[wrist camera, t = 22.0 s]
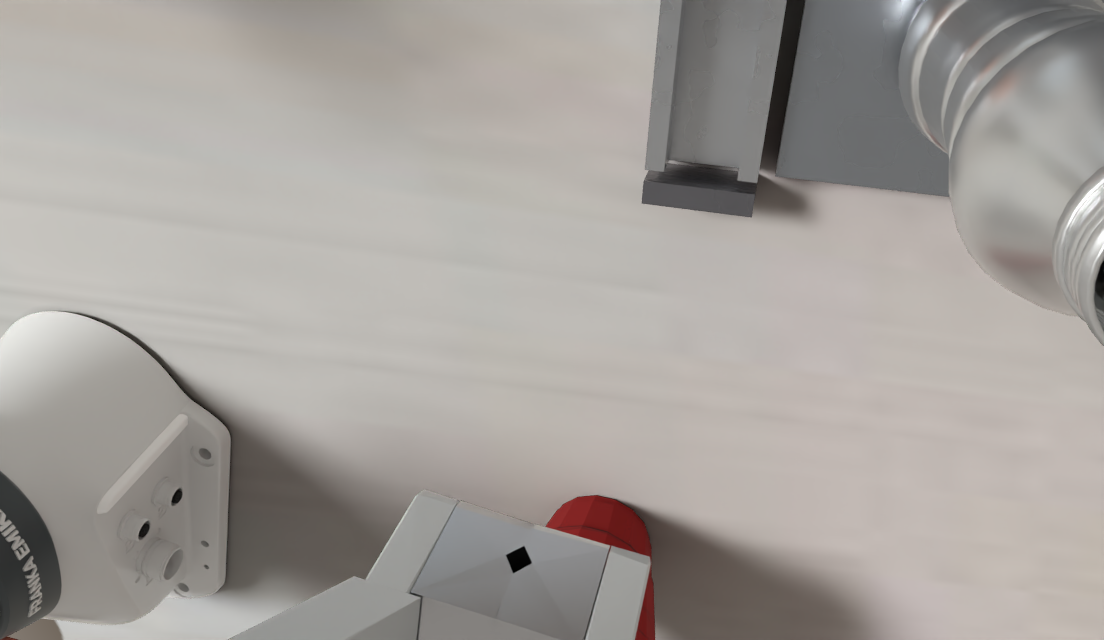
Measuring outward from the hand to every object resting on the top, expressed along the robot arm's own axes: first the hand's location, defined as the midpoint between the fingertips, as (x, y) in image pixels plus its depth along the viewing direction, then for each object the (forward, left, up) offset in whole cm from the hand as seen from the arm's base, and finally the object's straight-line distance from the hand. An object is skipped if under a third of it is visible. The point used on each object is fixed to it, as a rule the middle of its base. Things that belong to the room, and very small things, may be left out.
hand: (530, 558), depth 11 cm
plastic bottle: (+2, -10, -28) cm, 29 cm away
